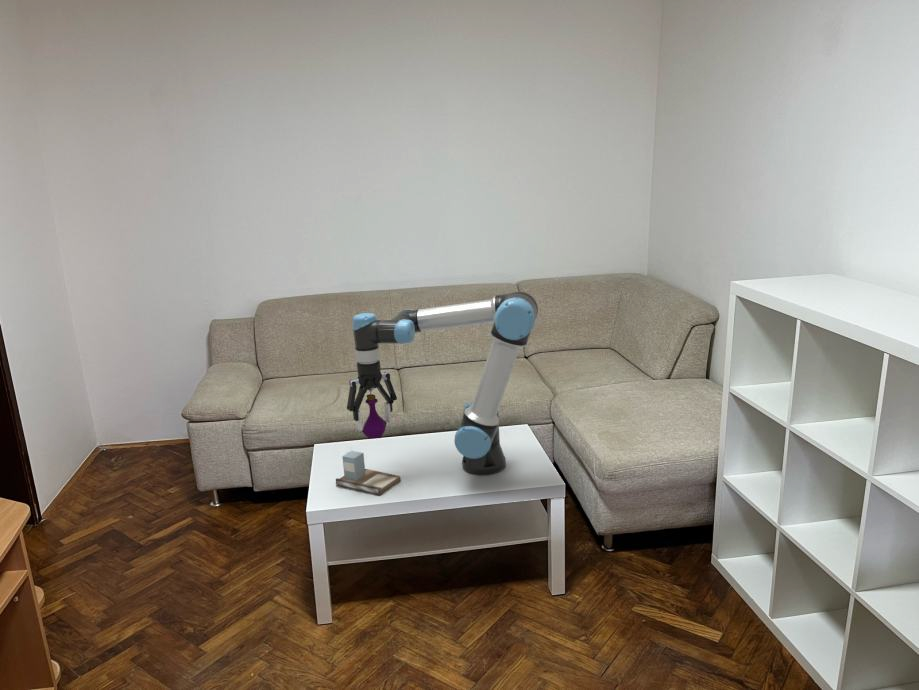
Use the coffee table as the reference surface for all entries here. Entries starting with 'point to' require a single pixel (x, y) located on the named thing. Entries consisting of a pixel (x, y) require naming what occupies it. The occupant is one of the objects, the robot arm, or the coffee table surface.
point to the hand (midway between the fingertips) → (374, 425)
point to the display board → (370, 482)
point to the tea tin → (354, 465)
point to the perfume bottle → (373, 419)
